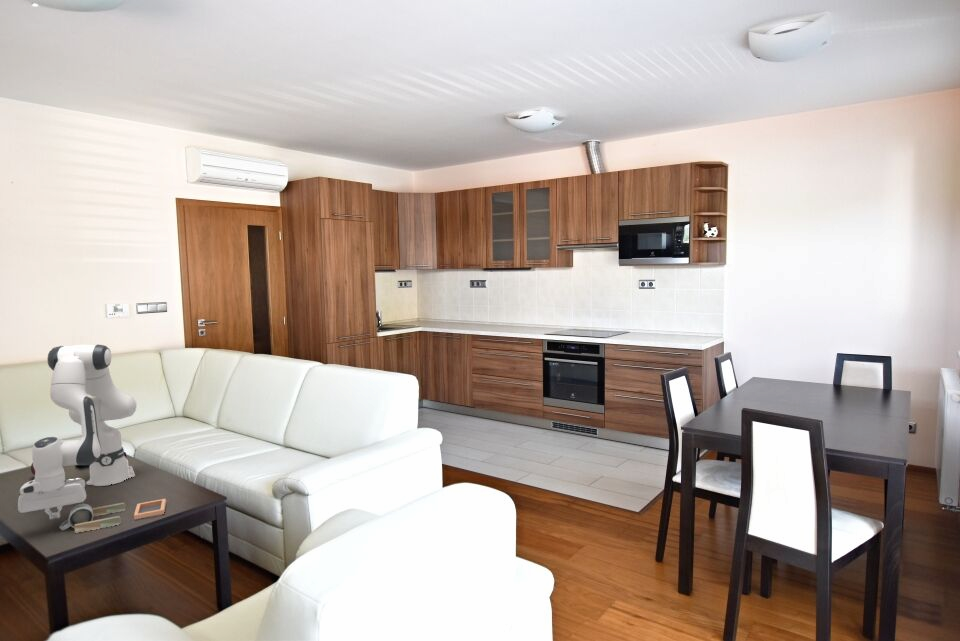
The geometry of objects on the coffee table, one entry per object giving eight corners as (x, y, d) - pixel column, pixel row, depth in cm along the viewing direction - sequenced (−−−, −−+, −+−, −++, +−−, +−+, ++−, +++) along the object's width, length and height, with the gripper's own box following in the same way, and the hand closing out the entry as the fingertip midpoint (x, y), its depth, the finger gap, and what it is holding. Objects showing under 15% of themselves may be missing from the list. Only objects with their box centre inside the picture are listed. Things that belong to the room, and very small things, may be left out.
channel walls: (83, 517, 221) (82, 510, 221) (125, 509, 227) (124, 502, 227) (75, 533, 208) (74, 525, 208) (120, 524, 214) (119, 517, 214)
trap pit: (137, 508, 228) (137, 503, 228) (166, 503, 232) (165, 498, 232) (134, 520, 217) (133, 515, 217) (164, 514, 221) (163, 509, 221)
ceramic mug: (93, 517, 221) (91, 498, 220) (94, 525, 214) (92, 505, 213) (60, 526, 215) (57, 507, 214) (59, 534, 208) (57, 514, 207)
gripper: (86, 474, 217) (90, 508, 218) (19, 484, 208) (24, 520, 210) (82, 479, 211) (86, 515, 213) (14, 490, 203) (18, 527, 204)
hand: (55, 518), depth 211 cm, fingers closed
